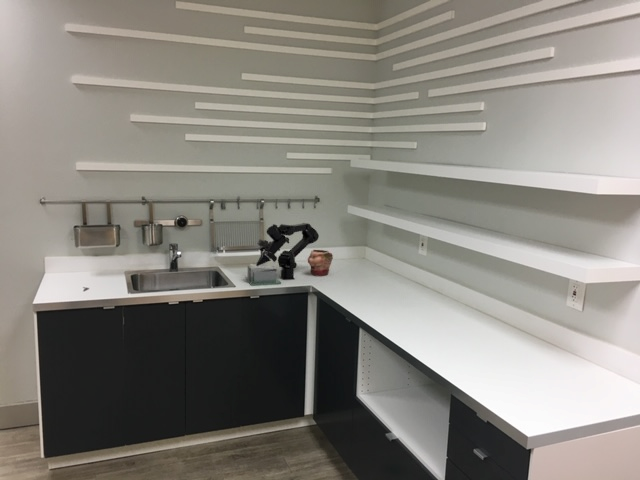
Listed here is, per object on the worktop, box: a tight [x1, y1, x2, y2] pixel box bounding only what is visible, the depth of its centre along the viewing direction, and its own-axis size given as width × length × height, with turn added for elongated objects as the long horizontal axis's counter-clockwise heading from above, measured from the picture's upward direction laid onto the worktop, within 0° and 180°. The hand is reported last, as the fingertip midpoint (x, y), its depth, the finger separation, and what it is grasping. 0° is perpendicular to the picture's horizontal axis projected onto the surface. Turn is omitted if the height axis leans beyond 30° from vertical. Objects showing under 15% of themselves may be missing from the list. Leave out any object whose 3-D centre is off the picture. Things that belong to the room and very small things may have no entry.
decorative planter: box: [307, 249, 334, 277], centre depth 302 cm, size 20×12×14 cm, turn 144°
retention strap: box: [249, 263, 276, 270], centre depth 280 cm, size 13×4×1 cm, turn 110°
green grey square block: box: [245, 265, 282, 287], centre depth 281 cm, size 16×16×8 cm
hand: (256, 265), depth 279 cm, fingers closed, pressing on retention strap
